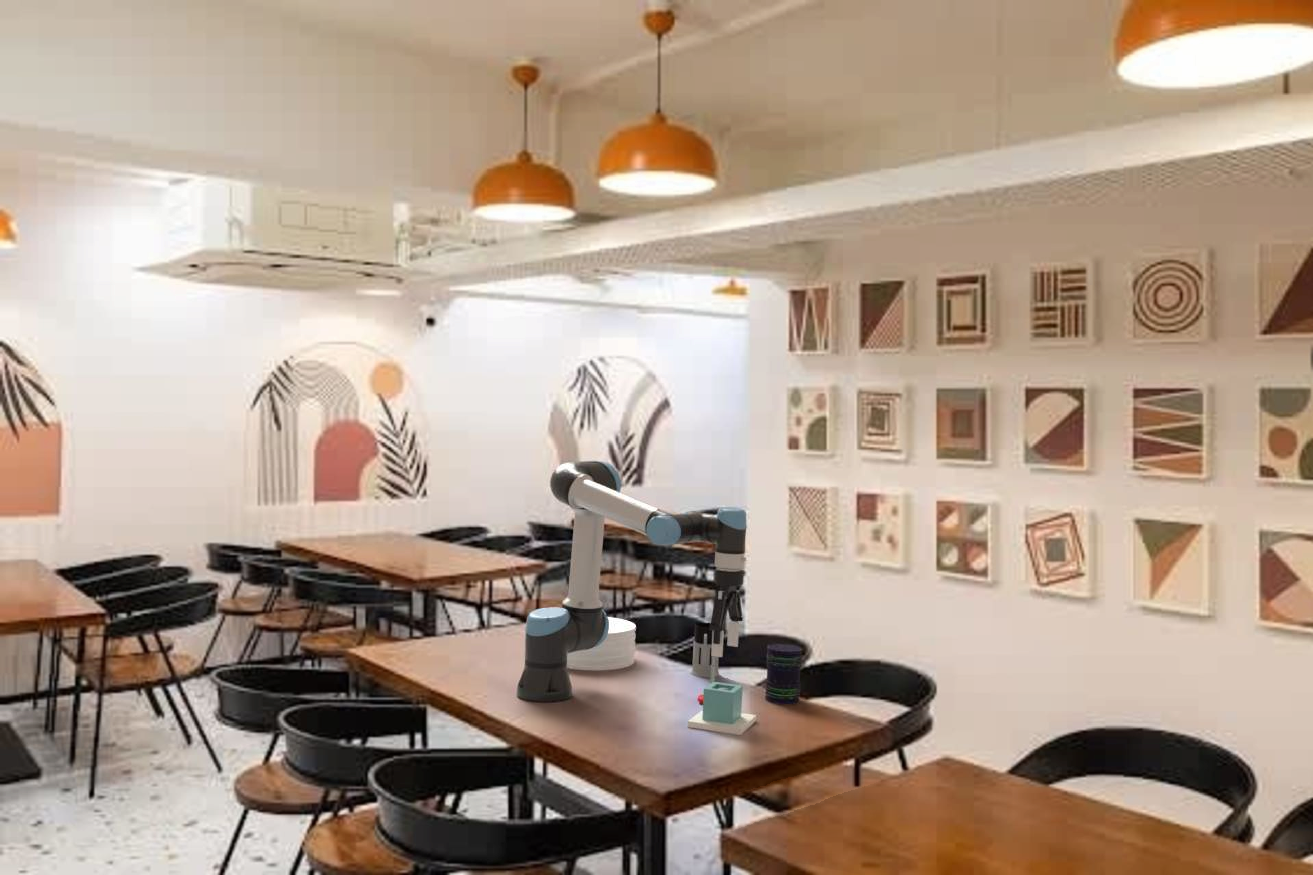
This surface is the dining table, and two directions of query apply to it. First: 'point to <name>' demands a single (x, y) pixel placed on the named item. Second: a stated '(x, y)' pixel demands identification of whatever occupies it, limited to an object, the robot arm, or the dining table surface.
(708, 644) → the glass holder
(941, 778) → the dining table surface
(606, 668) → the plate stack
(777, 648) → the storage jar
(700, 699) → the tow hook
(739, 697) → the sleeve
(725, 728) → the post stand
